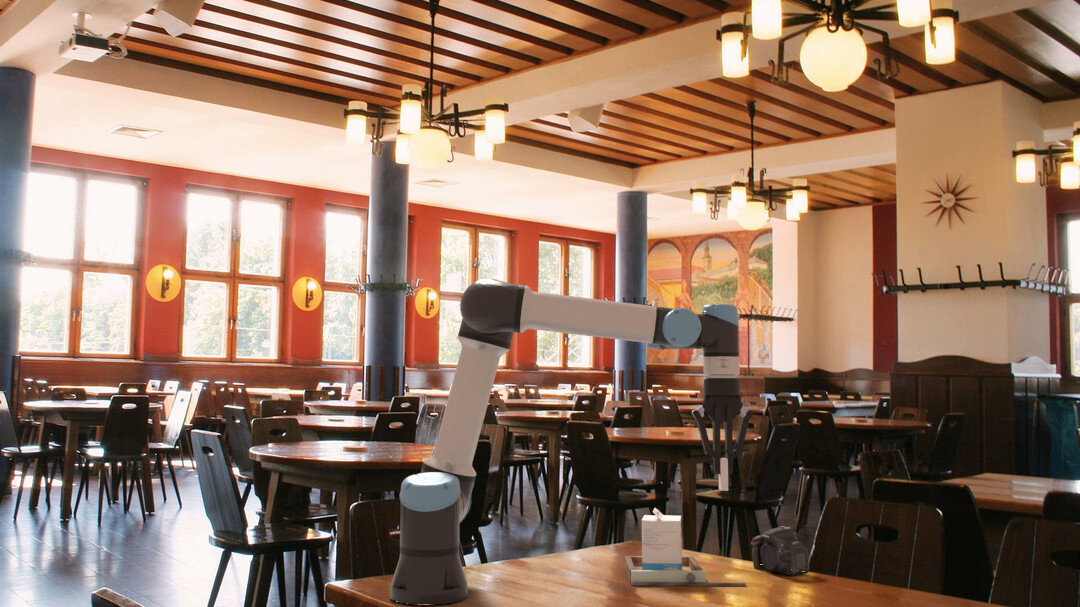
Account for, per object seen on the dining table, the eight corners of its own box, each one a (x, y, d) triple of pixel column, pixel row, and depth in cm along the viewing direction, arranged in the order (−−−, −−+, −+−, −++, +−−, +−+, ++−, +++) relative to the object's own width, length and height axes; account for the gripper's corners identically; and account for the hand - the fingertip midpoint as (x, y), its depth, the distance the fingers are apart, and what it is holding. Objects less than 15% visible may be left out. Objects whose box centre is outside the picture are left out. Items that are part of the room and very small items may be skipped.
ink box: (681, 577, 188) (680, 512, 190) (641, 575, 190) (641, 511, 191) (682, 568, 197) (681, 507, 198) (644, 567, 198) (643, 506, 200)
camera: (741, 571, 199) (740, 525, 200) (764, 564, 206) (763, 520, 207) (796, 580, 190) (794, 532, 190) (818, 573, 197) (817, 527, 197)
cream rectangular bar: (632, 585, 184) (631, 572, 184) (631, 582, 186) (631, 570, 186) (706, 585, 184) (706, 572, 184) (705, 583, 186) (705, 570, 186)
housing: (630, 585, 184) (630, 572, 185) (625, 567, 202) (624, 555, 202) (746, 586, 184) (745, 573, 184) (730, 568, 201) (729, 556, 201)
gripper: (693, 377, 185) (695, 492, 183) (756, 377, 185) (758, 492, 183) (688, 377, 193) (689, 487, 191) (748, 377, 192) (751, 487, 190)
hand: (723, 489), depth 187 cm, fingers closed
